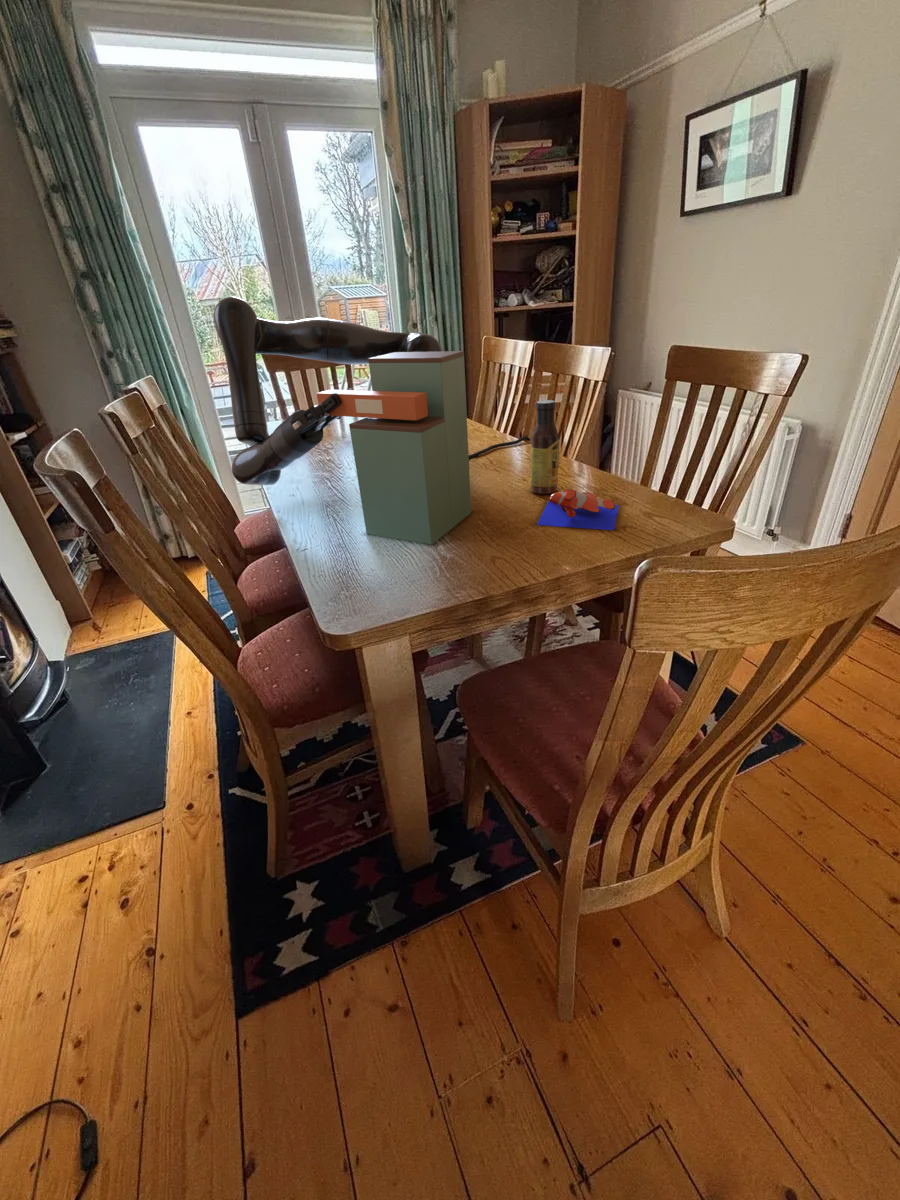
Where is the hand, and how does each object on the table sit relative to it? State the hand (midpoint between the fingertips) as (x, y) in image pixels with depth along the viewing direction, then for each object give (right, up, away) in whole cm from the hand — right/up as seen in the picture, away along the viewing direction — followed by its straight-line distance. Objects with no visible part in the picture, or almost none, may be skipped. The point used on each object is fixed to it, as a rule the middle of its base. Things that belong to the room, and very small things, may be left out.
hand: (345, 395), depth 100 cm
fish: (+46, -21, +10) cm, 52 cm away
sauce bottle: (+42, -13, +24) cm, 50 cm away
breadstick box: (+5, -4, -1) cm, 7 cm away
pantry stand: (+13, -22, +12) cm, 29 cm away
